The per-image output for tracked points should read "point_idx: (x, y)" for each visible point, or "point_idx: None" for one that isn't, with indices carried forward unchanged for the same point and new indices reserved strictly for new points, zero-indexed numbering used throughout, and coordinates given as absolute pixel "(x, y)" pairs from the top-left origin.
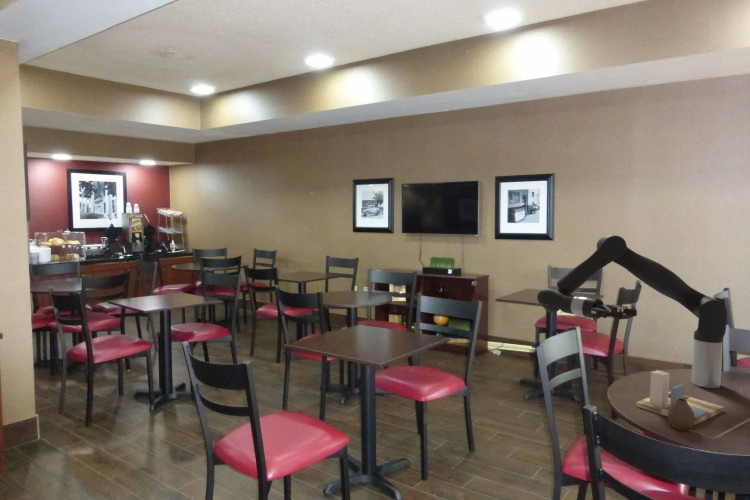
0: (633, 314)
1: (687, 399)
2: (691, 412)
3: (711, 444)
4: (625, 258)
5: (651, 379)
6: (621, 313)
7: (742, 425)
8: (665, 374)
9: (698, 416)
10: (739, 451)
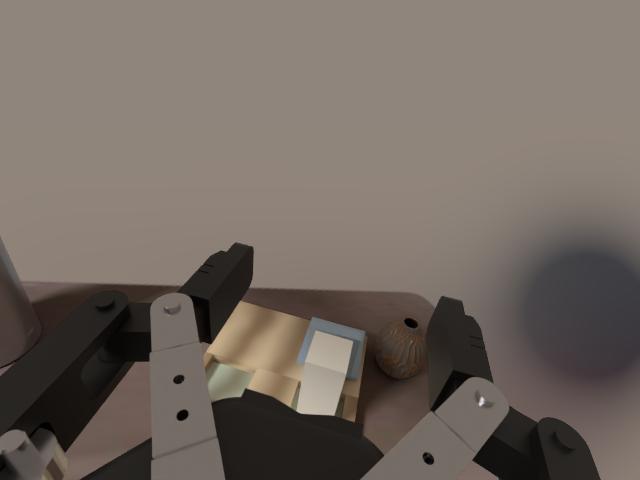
0: (244, 284)
1: (229, 356)
2: (407, 322)
3: (423, 322)
4: None
5: (342, 386)
6: (458, 306)
7: (294, 289)
8: (338, 337)
9: (352, 329)
10: (413, 295)
